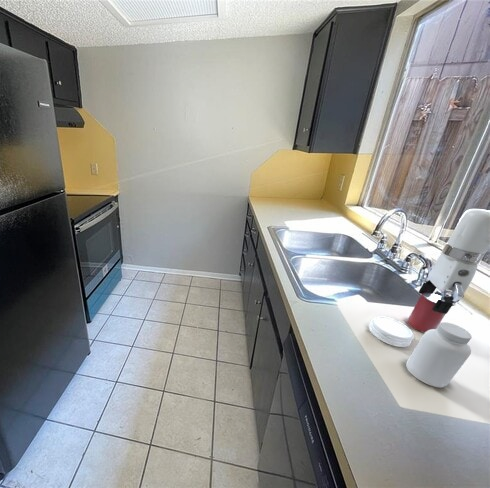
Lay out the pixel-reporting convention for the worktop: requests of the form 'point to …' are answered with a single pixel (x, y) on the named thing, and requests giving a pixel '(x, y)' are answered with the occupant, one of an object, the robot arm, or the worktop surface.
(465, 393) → the worktop surface
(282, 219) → the worktop surface
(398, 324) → the coaster
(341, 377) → the worktop surface
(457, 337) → the pill bottle
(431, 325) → the can
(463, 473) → the worktop surface
